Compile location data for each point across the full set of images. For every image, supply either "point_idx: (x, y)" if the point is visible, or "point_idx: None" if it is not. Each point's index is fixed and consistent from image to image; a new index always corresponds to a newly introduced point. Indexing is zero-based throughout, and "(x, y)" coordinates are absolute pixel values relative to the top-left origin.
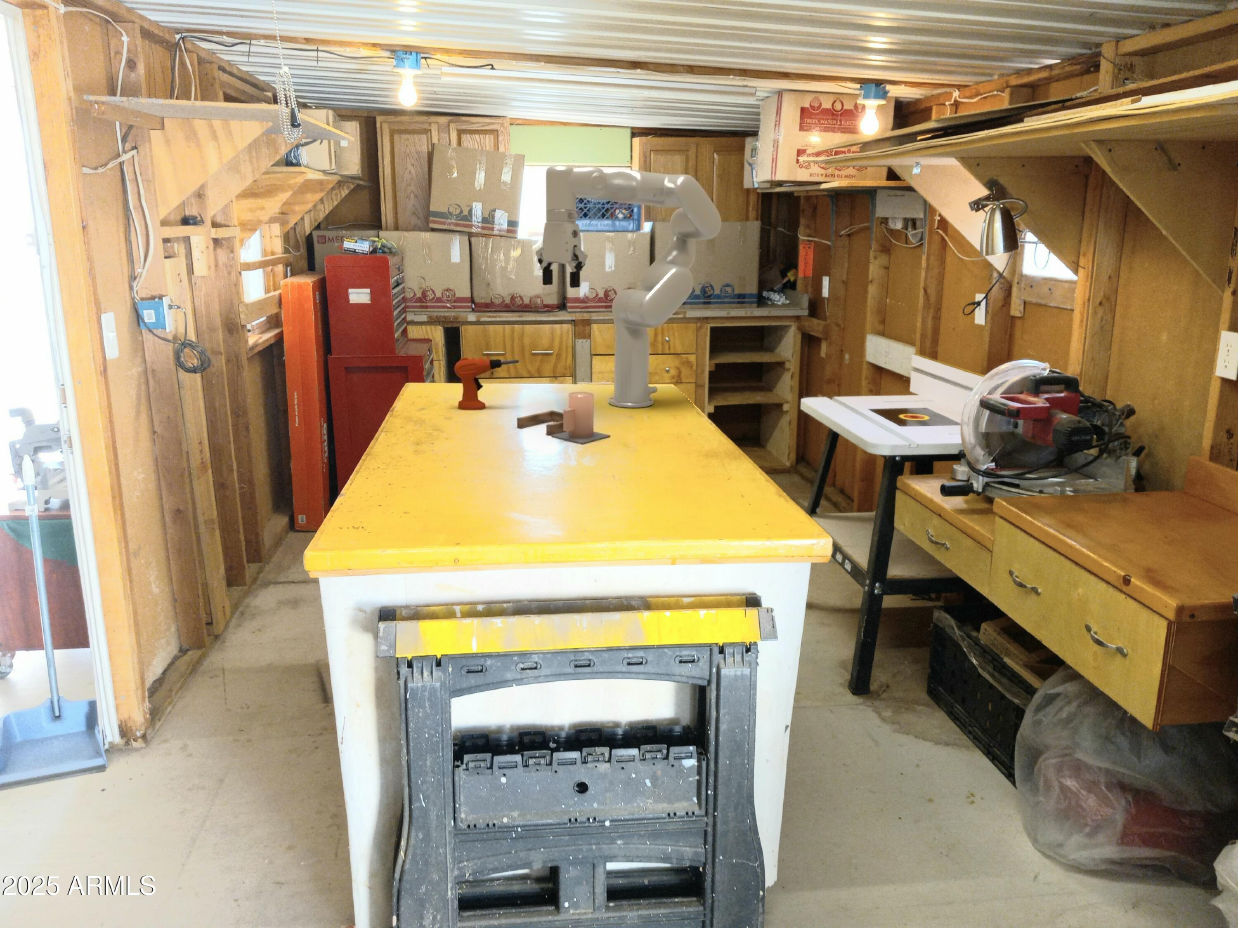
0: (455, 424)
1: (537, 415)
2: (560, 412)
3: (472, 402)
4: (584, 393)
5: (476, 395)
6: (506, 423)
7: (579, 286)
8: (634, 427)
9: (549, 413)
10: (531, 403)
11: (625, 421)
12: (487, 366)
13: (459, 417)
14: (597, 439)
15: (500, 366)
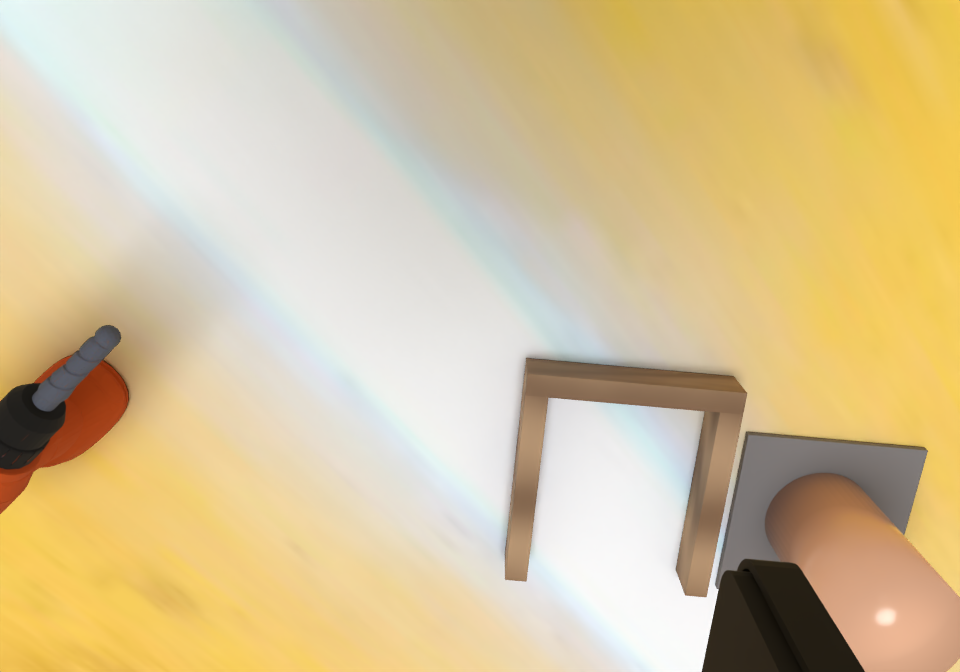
0: (273, 648)
1: (537, 486)
2: (591, 386)
3: (82, 439)
4: (907, 612)
5: (65, 428)
6: (415, 524)
7: (789, 572)
8: (939, 237)
9: (545, 412)
10: (188, 133)
11: (841, 158)
12: (28, 477)
13: (186, 561)
14: (905, 522)
15: (64, 410)
